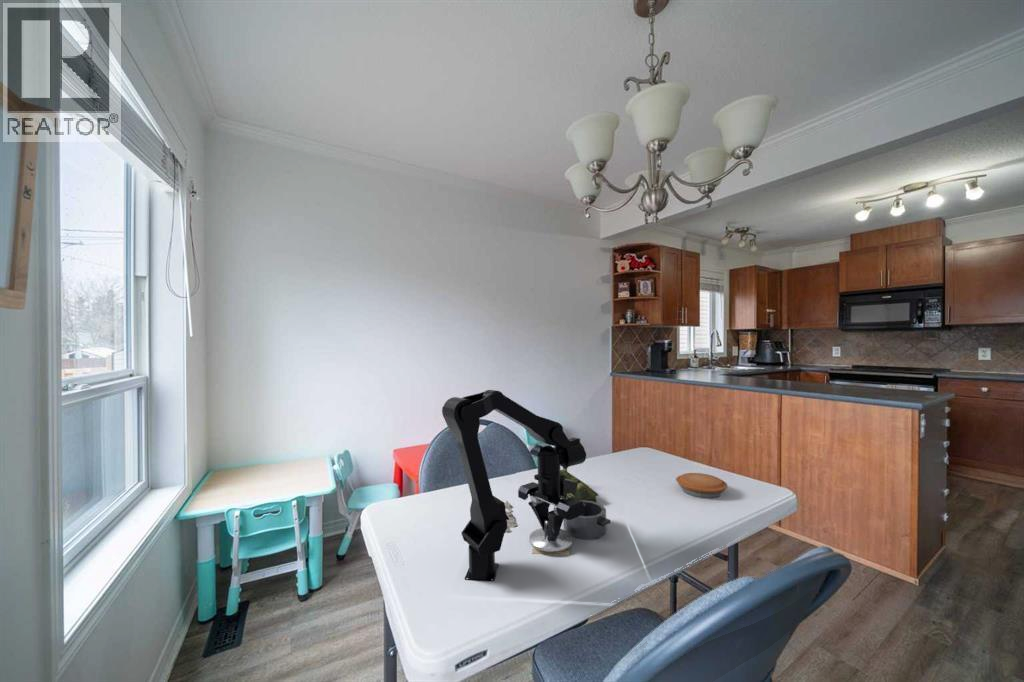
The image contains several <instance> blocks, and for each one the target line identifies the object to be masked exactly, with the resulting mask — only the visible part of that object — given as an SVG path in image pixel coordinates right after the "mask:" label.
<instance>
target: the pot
mask: <svg viewBox="0 0 1024 682" xmlns="http://www.w3.org/2000/svg"><path fill="white" fill-rule="evenodd" d="M580 501H583V503H584V504H585V511H586V513H585V514H583V515H581V516H579V517H576V518H574V519H572V520H567V519H563V530H565V531H567V532H569V533H570V534H571V535H572V537H573V539H577V540H585V541H588V540H589V541H590V540H599V539H600V538H603V537H604V536H606V534H607V530H608V528H607V525H609V524H610V523H611V519H609V518H607V509H606V508H605V506H604V505H602V504H601V503H598V502H597V503H596V502H593V501H585V500H580Z"/></svg>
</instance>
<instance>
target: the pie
mask: <svg viewBox="0 0 1024 682" xmlns="http://www.w3.org/2000/svg"><path fill="white" fill-rule="evenodd" d="M675 481H676V483H677V484H678V485H679V486H680V488H681V490H682V491H683V493H685V494H686V495H689V496H691V497H694V498H699V499H709V500H710V499H711V500H712V499H717V498H720V497H721V495H722V494H723V492H724V491H725V490H726V489H727V488H728V483H727V482H726V481H724V480H722V479H721V478H720V477H718V476H715V475H711V474H709V473H708V474H707V473H702V472H687V473H683V474H681V475H678V476H677V477H676V478H675Z"/></svg>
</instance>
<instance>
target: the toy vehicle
mask: <svg viewBox="0 0 1024 682" xmlns="http://www.w3.org/2000/svg"><path fill="white" fill-rule="evenodd" d="M568 468H569V467H562V469H560V471H561V474H564V476H565V478H566V479H569V480H572V481H575V482H578V486H577V491H576V495H573V494H570V493H567V496H564V497H563V496H561V499H569V498H571V497H573V498H575V499H578V500H585V501H593V502H596V503H598V502H597V496H599V494H598V493H597V492H596V491H595V490H593V489H592V488H591V487H590V486H589V485H588V484H586V483H585V482H583V481H582V480H580V479H579V478H578V477H576V476H575V475H573V474H571V473H570V472H569V471H568Z"/></svg>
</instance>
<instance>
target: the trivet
mask: <svg viewBox="0 0 1024 682" xmlns="http://www.w3.org/2000/svg"><path fill="white" fill-rule="evenodd" d="M570 548H571V546H570V547H569V548H568V549H566V550H563V551H558V552H547V551H542V550H539V549H536V548H535V547H533V546H532V549H531V550H532V551H531V555H535V554H536V555H556V556H557V555H558V556H559V555H560V556H571V549H570Z"/></svg>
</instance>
